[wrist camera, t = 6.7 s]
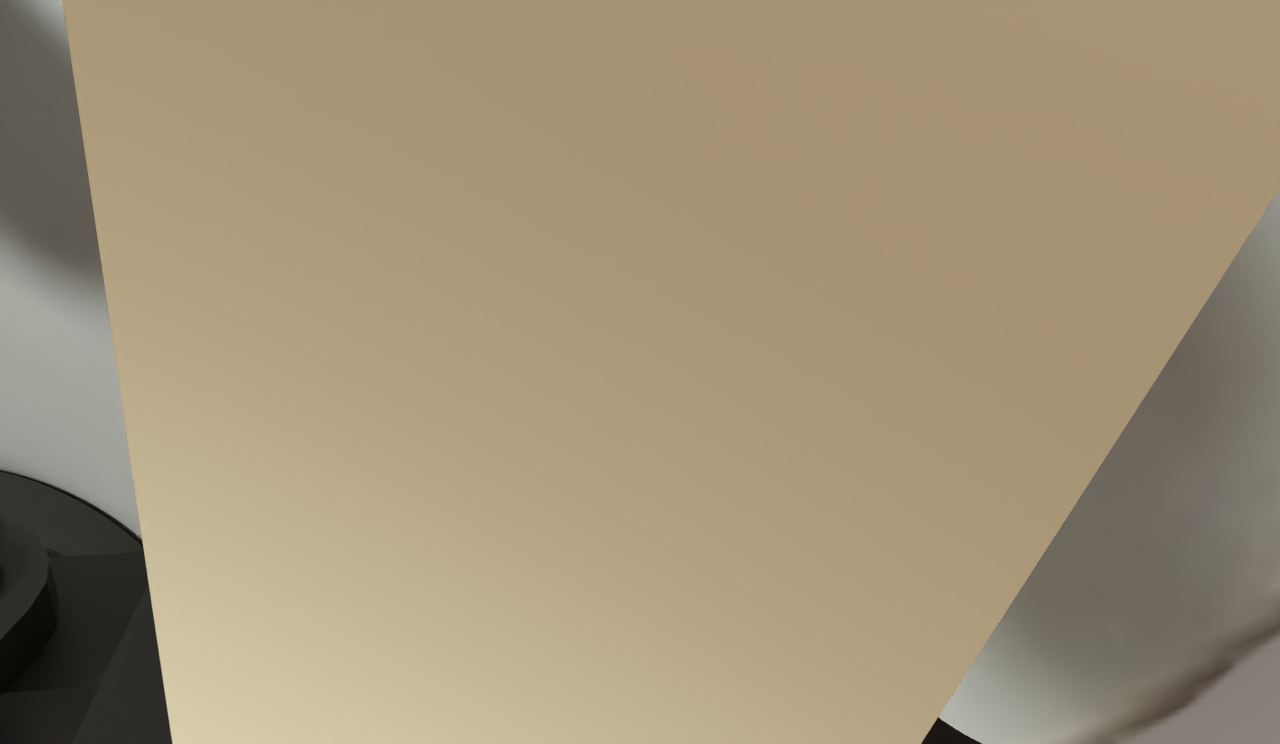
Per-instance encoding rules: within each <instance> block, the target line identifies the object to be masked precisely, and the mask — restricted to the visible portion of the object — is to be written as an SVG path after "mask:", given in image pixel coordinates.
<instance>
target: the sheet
mask: <svg viewBox="0 0 1280 744" xmlns="http://www.w3.org/2000/svg"><path fill="white" fill-rule="evenodd" d="M62 2H63V9H64V15H65V22H66V29H67V35H68V42H69V49H70V56H71V62H72V69H73V76H74V83H75V89H76V96H77V103H78V110H79V116H80V123H81V130H82V137H83V143H84V150H85V157H86V164H87V170H88V177H89V184H90V191H91V197H92V204H93V211H94V218H95V224H96V231H97V238H98V245H99V251H100V258H101V265H102V272H103V278H104V285H105V292H106V299H107V305H108V312H109V319H110V326H111V332H112V339H113V346H114V353H115V359H116V366H117V373H118V380H119V386H120V393H121V400H122V407H123V413H124V420H125V427H126V434H127V440H128V447H129V454H130V461H131V467H132V474H133V481H134V488H135V494H136V501H137V508H138V515H139V521H140V528H141V535H142V542H143V548H144V555H145V562H146V569H147V575H148V582H149V589H150V596H151V602H152V609H153V616H154V623H155V629H156V636H157V643H158V649H159V656H160V663H161V670H162V677H163V683H164V690H165V697H166V703H167V710H168V717H169V724H170V730H171V737H172V744H921V743H922V741H923V740H924V738H925V737H926V735H927V734H928V732H929V730H930V729H931V727H932V726H933V724H934V723H935V721H936V720H937V718H938V717H939V715H940V713H941V712H942V710H943V709H944V707H945V706H946V704H947V703H948V701H949V699H950V698H951V696H952V695H953V693H954V692H955V690H956V689H957V687H958V686H959V684H960V682H961V681H962V679H963V678H964V676H965V675H966V673H967V672H968V670H969V669H970V667H971V665H972V664H973V662H974V661H975V659H976V658H977V656H978V655H979V653H980V651H981V650H982V648H983V647H984V645H985V644H986V642H987V641H988V639H989V638H990V636H991V634H992V633H993V631H994V630H995V628H996V627H997V625H998V624H999V622H1000V620H1001V619H1002V617H1003V616H1004V614H1005V613H1006V611H1007V610H1008V608H1009V607H1010V605H1011V603H1012V602H1013V600H1014V599H1015V597H1016V596H1017V594H1018V593H1019V591H1020V590H1021V588H1022V586H1023V585H1024V583H1025V582H1026V580H1027V579H1028V577H1029V576H1030V574H1031V572H1032V571H1033V569H1034V568H1035V566H1036V565H1037V563H1038V562H1039V560H1040V559H1041V557H1042V555H1043V554H1044V552H1045V551H1046V549H1047V548H1048V546H1049V545H1050V543H1051V541H1052V540H1053V538H1054V537H1055V535H1056V534H1057V532H1058V531H1059V529H1060V528H1061V526H1062V524H1063V523H1064V521H1065V520H1066V518H1067V517H1068V515H1069V514H1070V512H1071V510H1072V509H1073V507H1074V506H1075V504H1076V503H1077V501H1078V500H1079V498H1080V497H1081V495H1082V493H1083V492H1084V490H1085V489H1086V487H1087V486H1088V484H1089V483H1090V481H1091V480H1092V478H1093V476H1094V475H1095V473H1096V472H1097V470H1098V469H1099V467H1100V466H1101V464H1102V462H1103V461H1104V459H1105V458H1106V456H1107V455H1108V453H1109V452H1110V450H1111V449H1112V447H1113V445H1114V444H1115V442H1116V441H1117V439H1118V438H1119V436H1120V435H1121V433H1122V432H1123V430H1124V428H1125V427H1126V425H1127V424H1128V422H1129V421H1130V419H1131V418H1132V416H1133V414H1134V413H1135V411H1136V410H1137V408H1138V407H1139V405H1140V404H1141V402H1142V401H1143V399H1144V397H1145V396H1146V394H1147V393H1148V391H1149V390H1150V388H1151V387H1152V385H1153V383H1154V382H1155V380H1156V379H1157V377H1158V376H1159V374H1160V373H1161V371H1162V370H1163V368H1164V366H1165V365H1166V363H1167V362H1168V360H1169V359H1170V357H1171V356H1172V354H1173V353H1174V351H1175V349H1176V348H1177V346H1178V345H1179V343H1180V342H1181V340H1182V339H1183V337H1184V335H1185V334H1186V332H1187V331H1188V329H1189V328H1190V326H1191V325H1192V323H1193V322H1194V320H1195V318H1196V317H1197V315H1198V314H1199V312H1200V311H1201V309H1202V308H1203V306H1204V304H1205V303H1206V301H1207V300H1208V298H1209V297H1210V295H1211V294H1212V292H1213V291H1214V289H1215V287H1216V286H1217V284H1218V283H1219V281H1220V280H1221V278H1222V277H1223V275H1224V273H1225V272H1226V270H1227V269H1228V267H1229V266H1230V264H1231V263H1232V261H1233V260H1234V258H1235V256H1236V255H1237V253H1238V252H1239V250H1240V249H1241V247H1242V246H1243V244H1244V243H1245V241H1246V239H1247V238H1248V236H1249V235H1250V233H1251V232H1252V230H1253V229H1254V227H1255V225H1256V224H1257V222H1258V221H1259V219H1260V218H1261V216H1262V215H1263V213H1264V212H1265V210H1266V208H1267V207H1268V205H1269V204H1270V202H1271V201H1272V199H1273V198H1274V196H1275V195H1276V193H1277V191H1278V190H1279V188H1280V0H62Z"/></svg>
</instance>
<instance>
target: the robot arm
mask: <svg viewBox="0 0 1280 744" xmlns="http://www.w3.org/2000/svg"><path fill="white" fill-rule="evenodd" d="M0 744H172V737H171V730H170V724H169V717H168V710H167V703H166V697H165V690H164V683H163V677H162V670H161V663H160V656H159V649H158V643H157V636H156V629H155V623H154V616H153V609H152V602H151V596H150V589H149V582H148V575H147V569H146V562H145V555H144V548H143V546H142V545H141V544H139V543H138V542H137V541H136V540H135V539H134V538H133V537H132V536H130V535H129V534H128V533H127V532H125V531H124V530H123V529H122V528H120V527H119V526H118V525H116V524H115V523H113V522H112V521H111V520H109V519H108V518H106V517H105V516H103V515H102V514H100V513H99V512H97V511H95V510H94V509H92V508H90V507H89V506H87V505H85V504H83V503H81V502H80V501H78V500H76V499H74V498H72V497H70V496H68V495H66V494H64V493H62V492H59V491H57V490H55V489H53V488H50V487H48V486H45V485H43V484H40V483H38V482H35V481H32V480H29V479H26V478H23V477H20V476H16V475H13V474H9V473H5V472H1V471H0ZM921 744H981V743H980V742H978V741H976V740H974V739H972V738H970V737H968V736H966V735H964V734H963V733H961V732H959V731H958V730H956V729H955V728H953V727H952V726H950V725H948V724H947V723H945V722H944V721H942V720H941V719H940V718H939V717H938V718H937V720H936V721H935V723H934V724H933V726H932V727H931V729H930V730H929V732H928V734H927V735H926V737H925V738H924V740H923V741H922V743H921Z"/></svg>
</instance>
